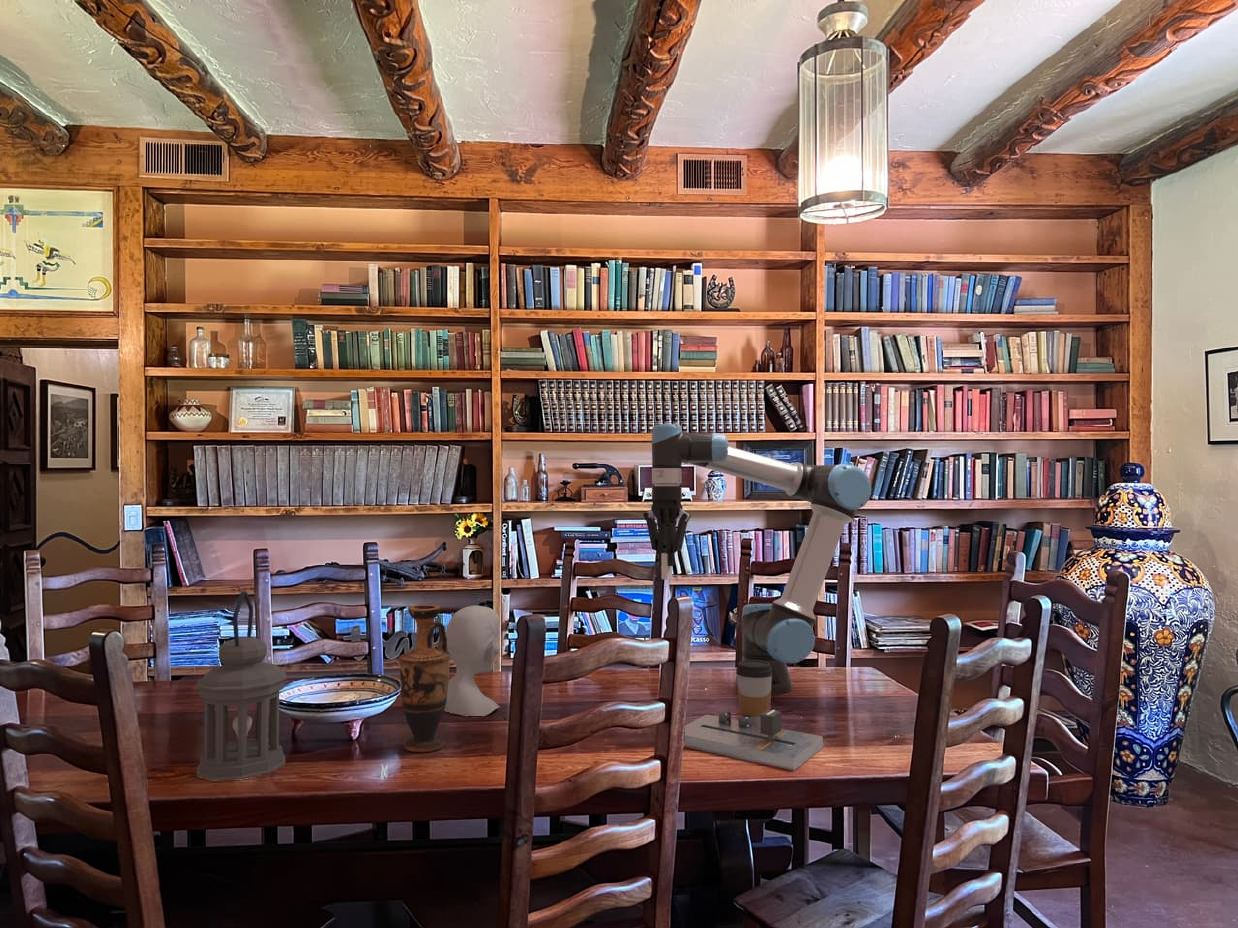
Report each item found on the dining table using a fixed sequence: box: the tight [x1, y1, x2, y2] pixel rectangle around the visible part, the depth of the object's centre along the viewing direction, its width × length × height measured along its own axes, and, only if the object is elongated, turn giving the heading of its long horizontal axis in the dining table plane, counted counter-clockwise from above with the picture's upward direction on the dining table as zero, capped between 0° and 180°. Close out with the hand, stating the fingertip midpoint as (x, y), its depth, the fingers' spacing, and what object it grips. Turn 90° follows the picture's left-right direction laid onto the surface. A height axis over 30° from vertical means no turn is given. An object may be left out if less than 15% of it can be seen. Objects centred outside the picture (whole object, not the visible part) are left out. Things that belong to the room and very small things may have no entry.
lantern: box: [196, 590, 288, 780], centre depth 161 cm, size 17×17×35 cm
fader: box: [760, 709, 782, 741], centre depth 169 cm, size 4×3×7 cm, turn 146°
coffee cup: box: [735, 660, 773, 725], centre depth 185 cm, size 8×8×15 cm
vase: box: [398, 604, 451, 754], centre depth 172 cm, size 11×11×30 cm
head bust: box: [444, 605, 501, 717], centre depth 205 cm, size 22×19×25 cm
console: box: [684, 710, 824, 771], centre depth 173 cm, size 16×28×4 cm, turn 56°
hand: (666, 578), depth 202 cm, fingers closed
